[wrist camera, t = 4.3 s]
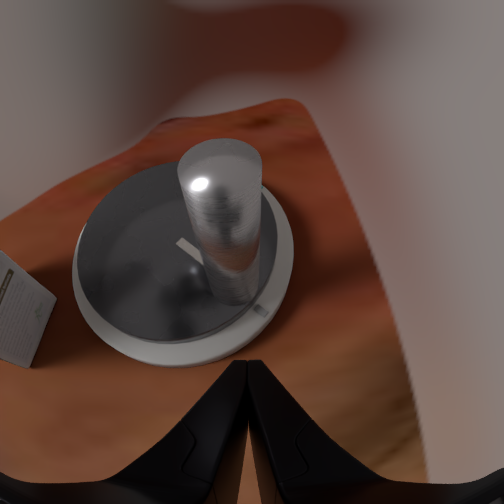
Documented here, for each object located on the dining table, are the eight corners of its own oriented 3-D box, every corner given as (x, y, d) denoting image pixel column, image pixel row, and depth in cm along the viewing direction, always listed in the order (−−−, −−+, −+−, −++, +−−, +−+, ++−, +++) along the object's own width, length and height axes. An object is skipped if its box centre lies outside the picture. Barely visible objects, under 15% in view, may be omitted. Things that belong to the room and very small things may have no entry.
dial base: (299, 367, 16) (304, 362, 14) (66, 357, 15) (52, 350, 14) (282, 174, 23) (283, 158, 21) (108, 183, 23) (101, 169, 21)
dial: (175, 392, 13) (80, 354, 6) (55, 256, 17) (-21, 163, 10) (316, 230, 18) (349, 100, 10) (179, 149, 22) (157, 43, 14)
